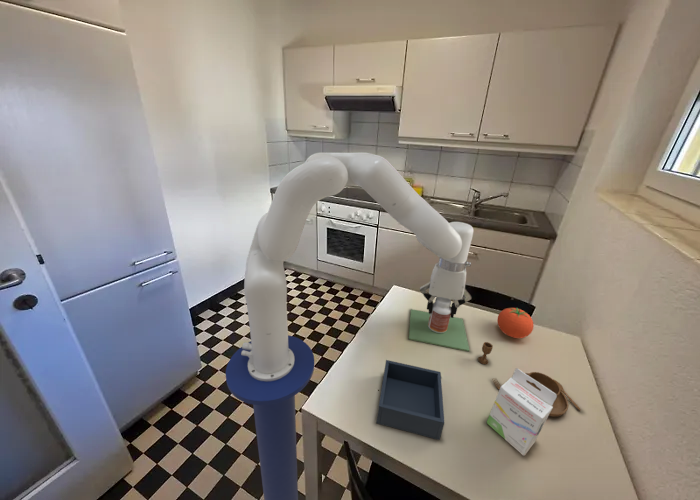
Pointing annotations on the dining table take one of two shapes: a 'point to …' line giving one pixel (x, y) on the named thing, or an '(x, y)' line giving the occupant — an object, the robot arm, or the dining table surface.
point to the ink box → (521, 411)
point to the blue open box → (411, 400)
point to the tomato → (515, 322)
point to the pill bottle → (440, 315)
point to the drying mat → (450, 338)
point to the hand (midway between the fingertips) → (440, 312)
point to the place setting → (560, 402)
